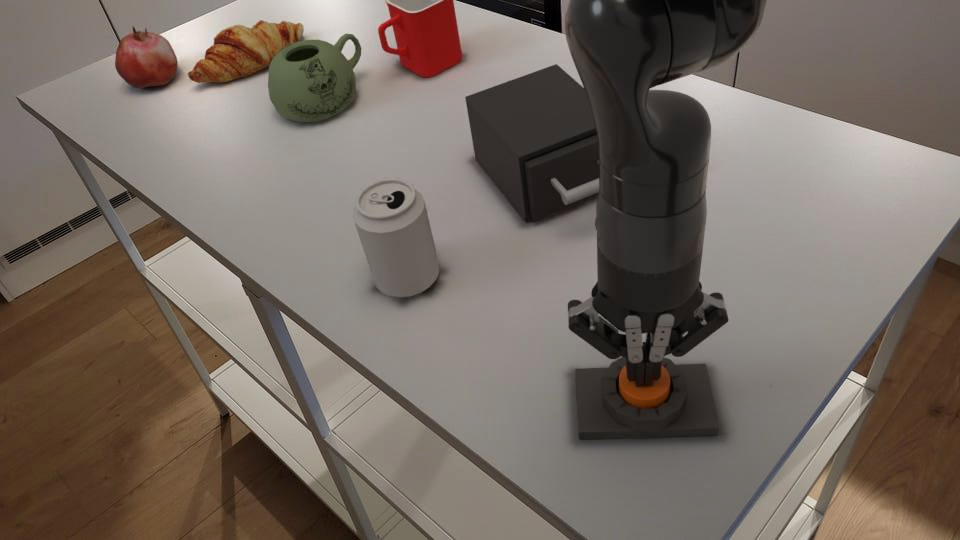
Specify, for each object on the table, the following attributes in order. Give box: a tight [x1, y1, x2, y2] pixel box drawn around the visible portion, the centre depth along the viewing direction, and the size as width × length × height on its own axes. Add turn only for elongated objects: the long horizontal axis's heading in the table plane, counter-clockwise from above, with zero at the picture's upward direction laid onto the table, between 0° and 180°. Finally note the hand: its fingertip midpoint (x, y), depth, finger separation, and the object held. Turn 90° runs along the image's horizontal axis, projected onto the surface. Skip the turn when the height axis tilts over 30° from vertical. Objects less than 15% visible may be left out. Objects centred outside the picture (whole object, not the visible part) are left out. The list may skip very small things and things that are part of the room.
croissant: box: [187, 19, 305, 84], centre depth 123 cm, size 21×10×8 cm, turn 134°
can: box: [352, 177, 440, 298], centre depth 80 cm, size 8×8×12 cm
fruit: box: [114, 26, 179, 89], centre depth 121 cm, size 9×10×10 cm
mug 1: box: [267, 33, 362, 123], centre depth 111 cm, size 16×13×9 cm
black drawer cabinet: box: [464, 63, 597, 224], centre depth 91 cm, size 15×13×10 cm
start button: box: [619, 365, 670, 409], centre depth 67 cm, size 4×4×2 cm
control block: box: [574, 356, 720, 440], centre depth 68 cm, size 12×7×3 cm, turn 87°
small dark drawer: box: [524, 133, 599, 222], centre depth 89 cm, size 18×11×8 cm, turn 24°
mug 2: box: [377, 0, 463, 78], centre depth 114 cm, size 12×8×11 cm
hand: (643, 378), depth 66 cm, fingers closed
